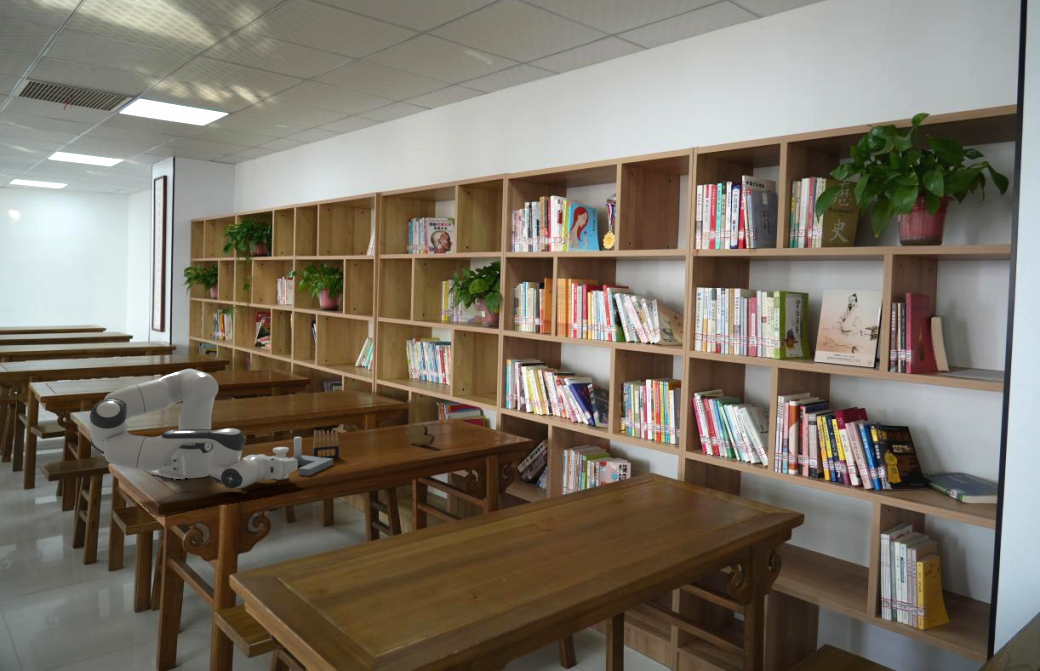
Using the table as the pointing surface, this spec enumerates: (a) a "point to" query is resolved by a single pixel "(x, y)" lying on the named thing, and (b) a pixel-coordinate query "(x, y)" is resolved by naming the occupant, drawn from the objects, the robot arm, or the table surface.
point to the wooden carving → (420, 435)
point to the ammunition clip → (326, 445)
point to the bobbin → (281, 454)
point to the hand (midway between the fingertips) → (282, 458)
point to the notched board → (309, 460)
